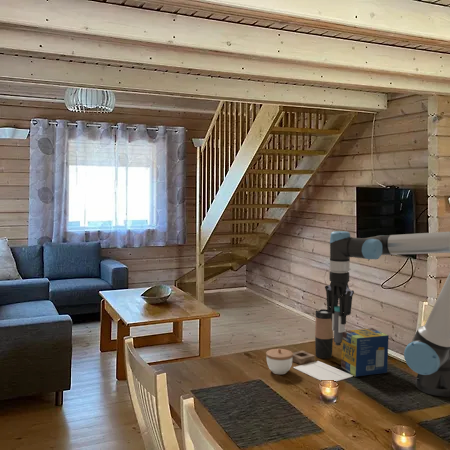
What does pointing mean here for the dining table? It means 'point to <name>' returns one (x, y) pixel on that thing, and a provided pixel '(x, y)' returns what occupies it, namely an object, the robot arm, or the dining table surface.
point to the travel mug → (323, 334)
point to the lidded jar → (279, 360)
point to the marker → (336, 321)
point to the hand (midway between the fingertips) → (338, 330)
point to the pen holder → (303, 357)
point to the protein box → (364, 352)
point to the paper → (323, 371)
